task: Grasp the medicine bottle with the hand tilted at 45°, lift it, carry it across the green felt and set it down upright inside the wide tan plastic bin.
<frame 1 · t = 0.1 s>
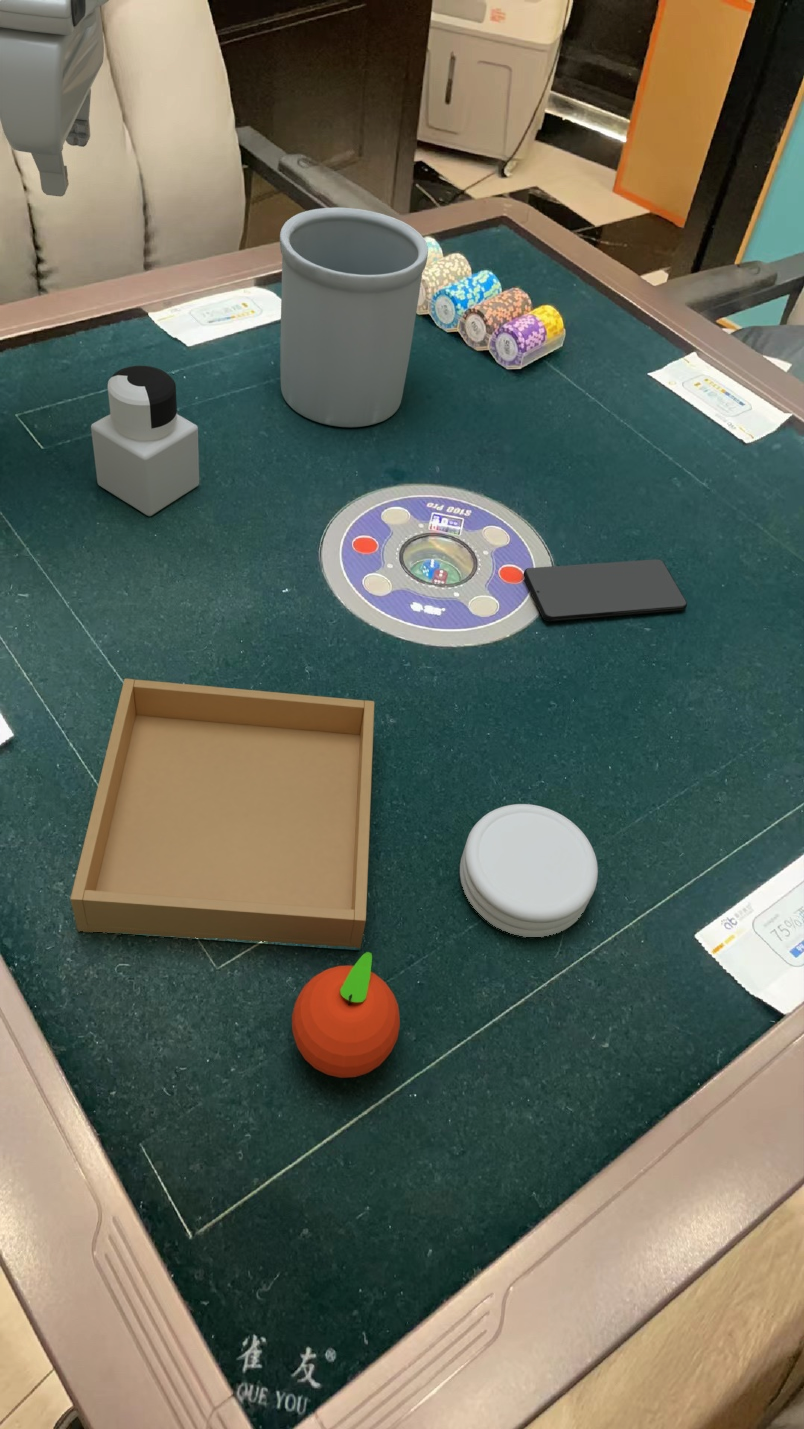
hand: (67, 166, 85), 28 cm above the table, tool pointing down, fingers open, 8 cm apart
medicine bottle: (149, 487, 104), on the table
white round disc: (522, 882, 80), on the table
utensil holder: (340, 393, 118), on the table
bin: (236, 825, 80), on the table
smartphone: (603, 594, 102), on the table
clementine: (343, 1036, 70), on the table
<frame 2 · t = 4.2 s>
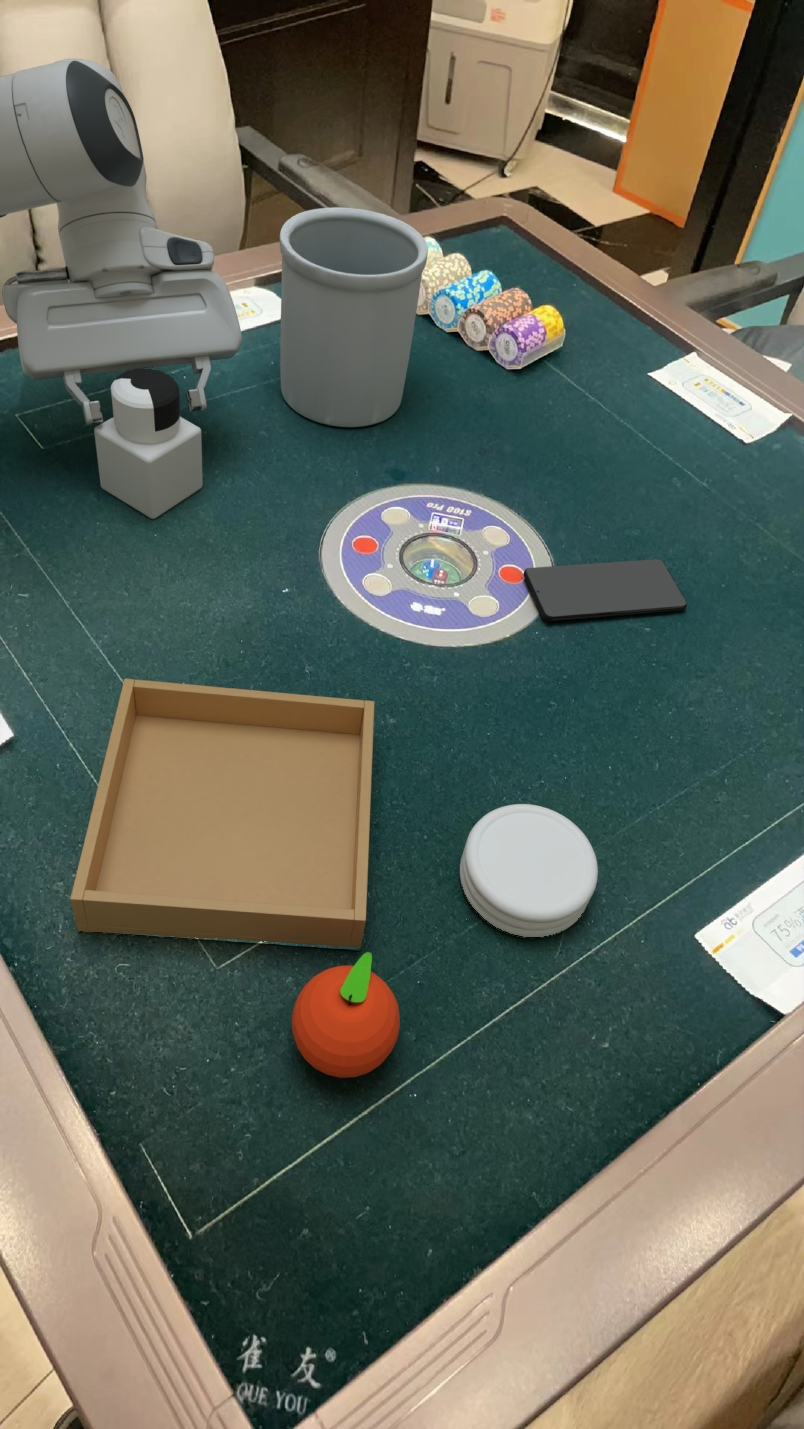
hand: (147, 416, 98), 8 cm above the table, tool tilted 45°, fingers open, 8 cm apart
medicine bottle: (152, 490, 104), on the table, touching gripper
everything else where it was.
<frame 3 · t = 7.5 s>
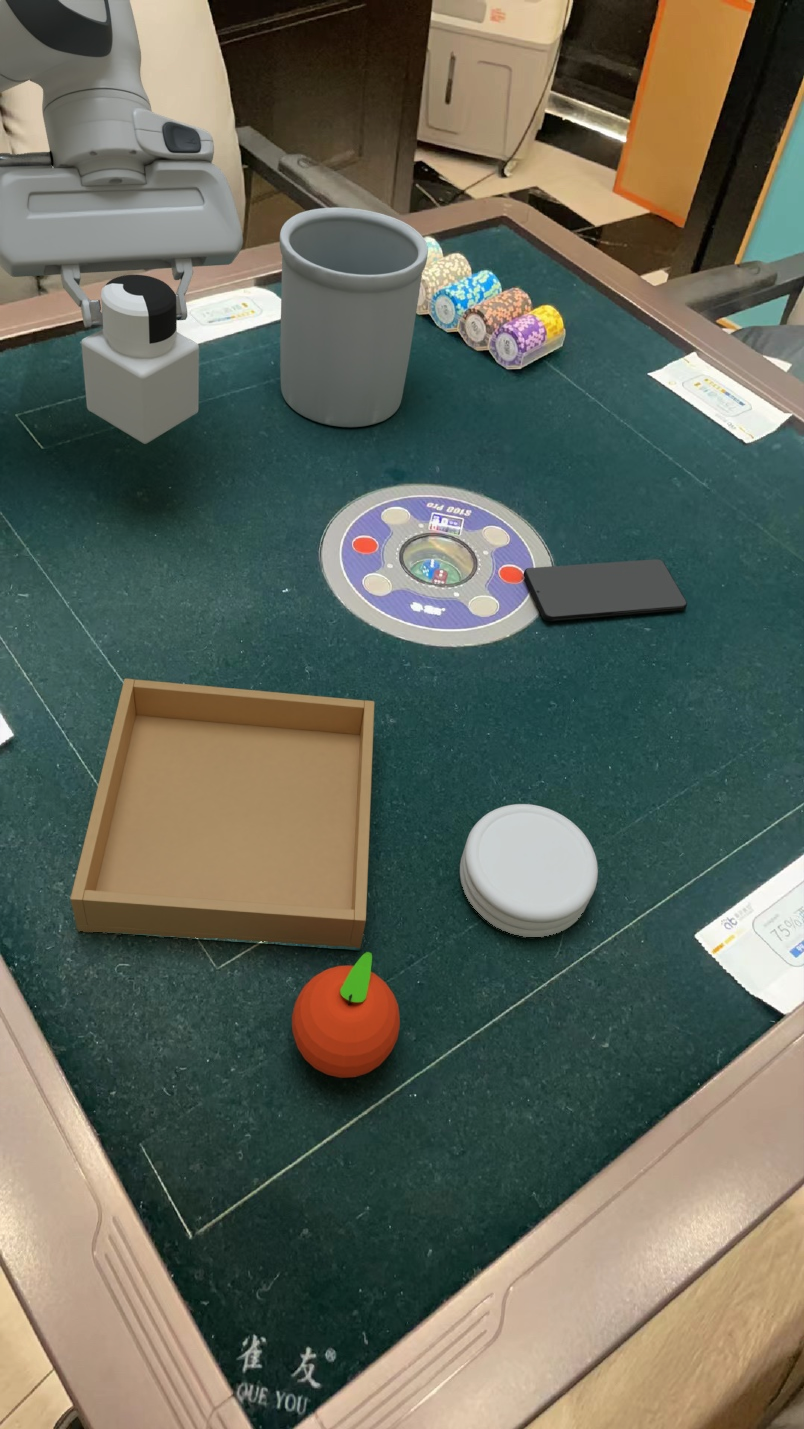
hand: (137, 322, 89), 18 cm above the table, tool tilted 45°, fingers closed on medicine bottle, 6 cm apart
medicine bottle: (143, 413, 95), point 10 cm above the table, touching gripper
everything else where it was.
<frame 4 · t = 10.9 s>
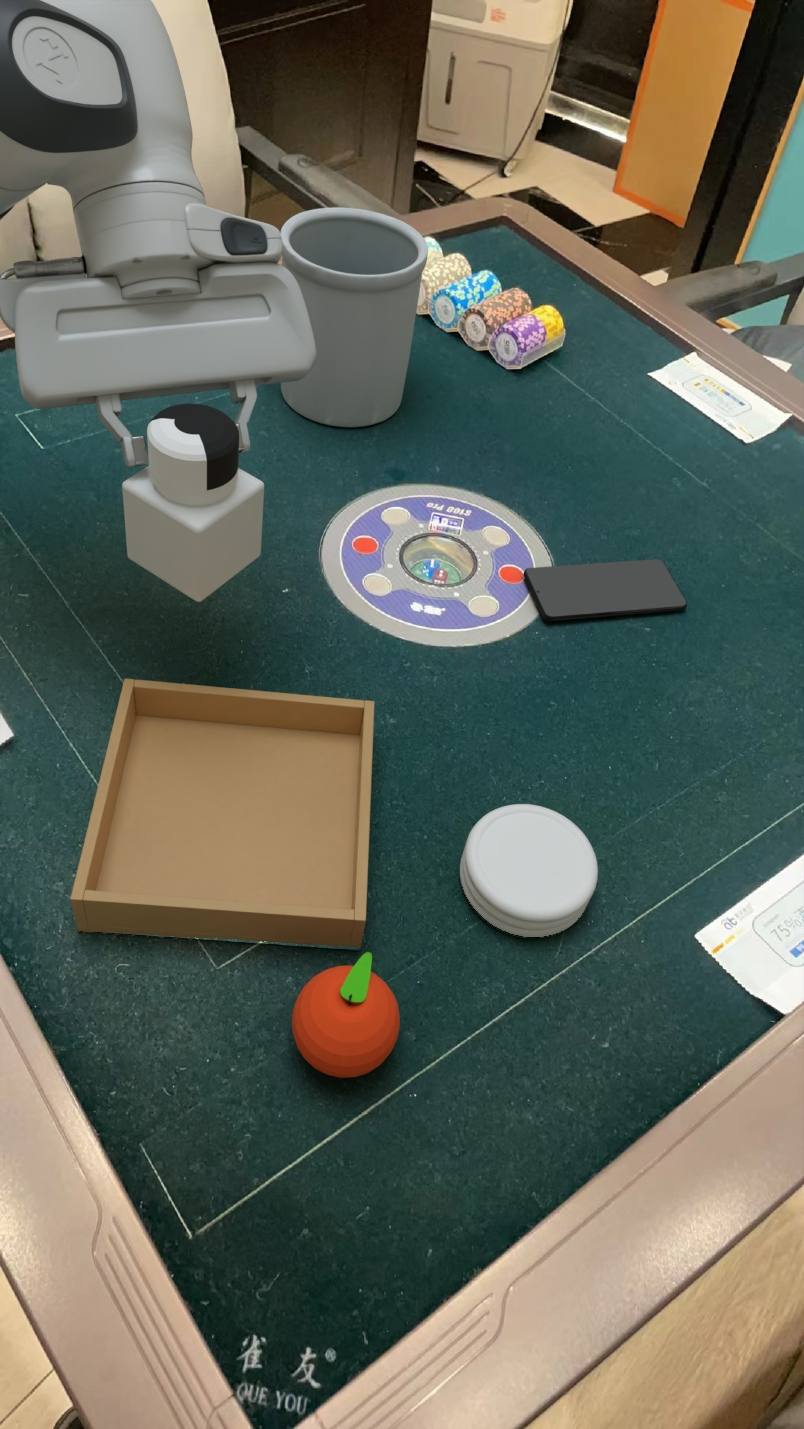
hand: (189, 458, 73), 21 cm above the table, tool tilted 45°, fingers closed on medicine bottle, 6 cm apart
medicine bottle: (194, 559, 79), point 13 cm above the table, touching gripper
everything else where it was.
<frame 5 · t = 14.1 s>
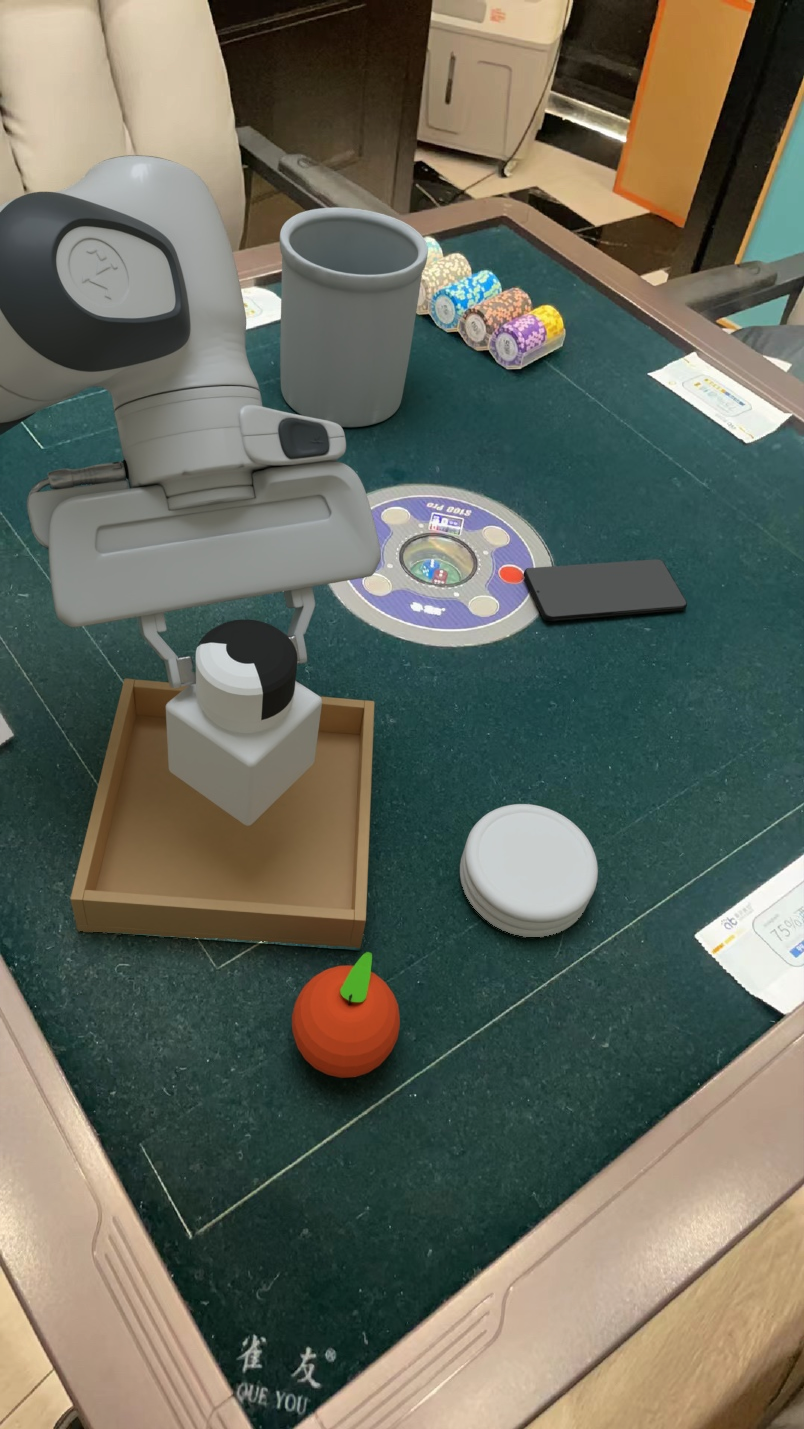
hand: (240, 674, 66), 18 cm above the table, tool tilted 45°, fingers closed on medicine bottle, 6 cm apart
medicine bottle: (242, 769, 71), point 9 cm above the table, touching gripper
everything else where it was.
when the fingers open (9 cm above the table, at t = 16.9 s): medicine bottle stays where it is, resting on bin.
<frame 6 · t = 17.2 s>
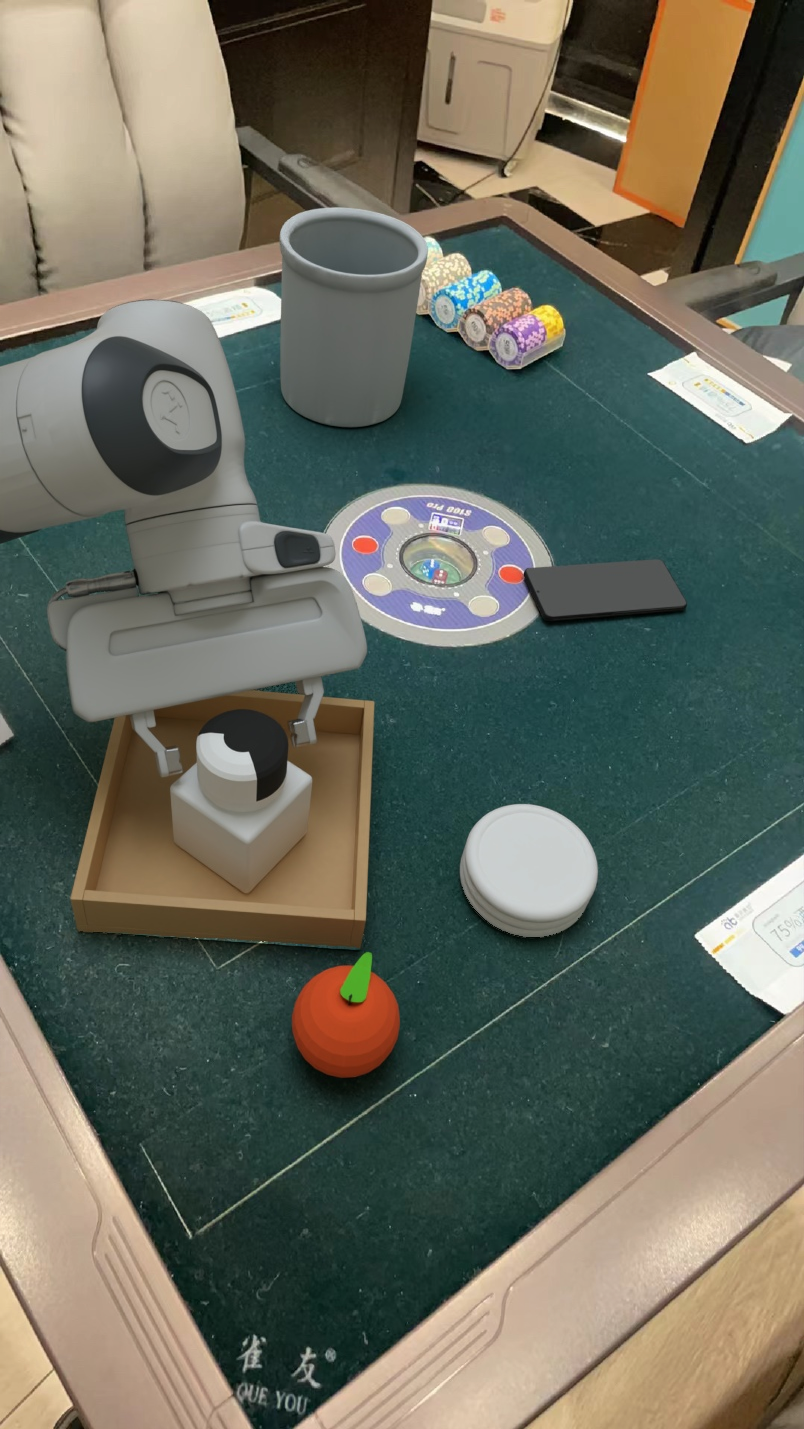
hand: (239, 759, 72), 9 cm above the table, tool tilted 45°, fingers open, 8 cm apart
medicine bottle: (241, 839, 78), point 1 cm above the table, touching bin
everything else where it was.
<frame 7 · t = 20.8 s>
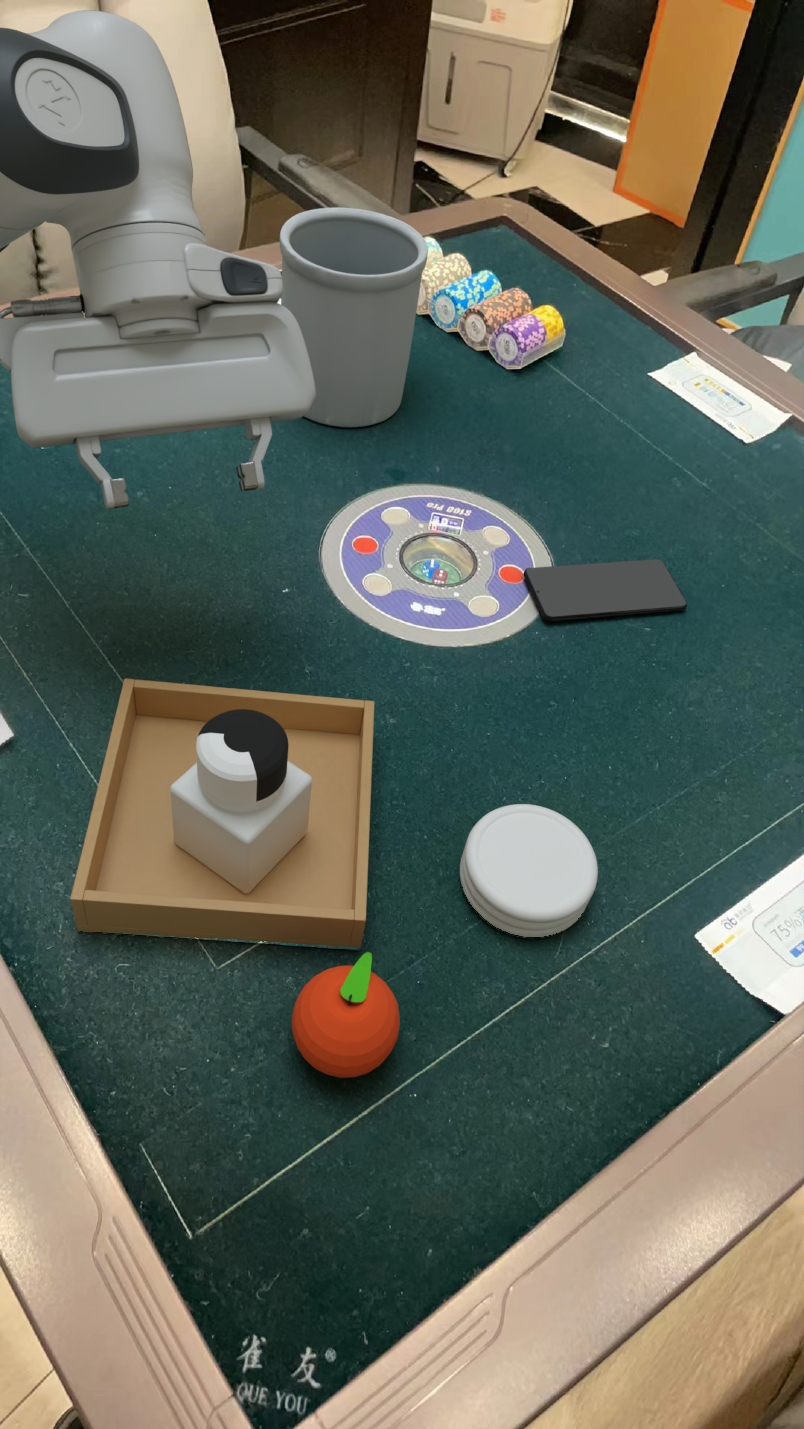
hand: (186, 498, 72), 20 cm above the table, tool tilted 45°, fingers open, 8 cm apart
nothing on the table moved.
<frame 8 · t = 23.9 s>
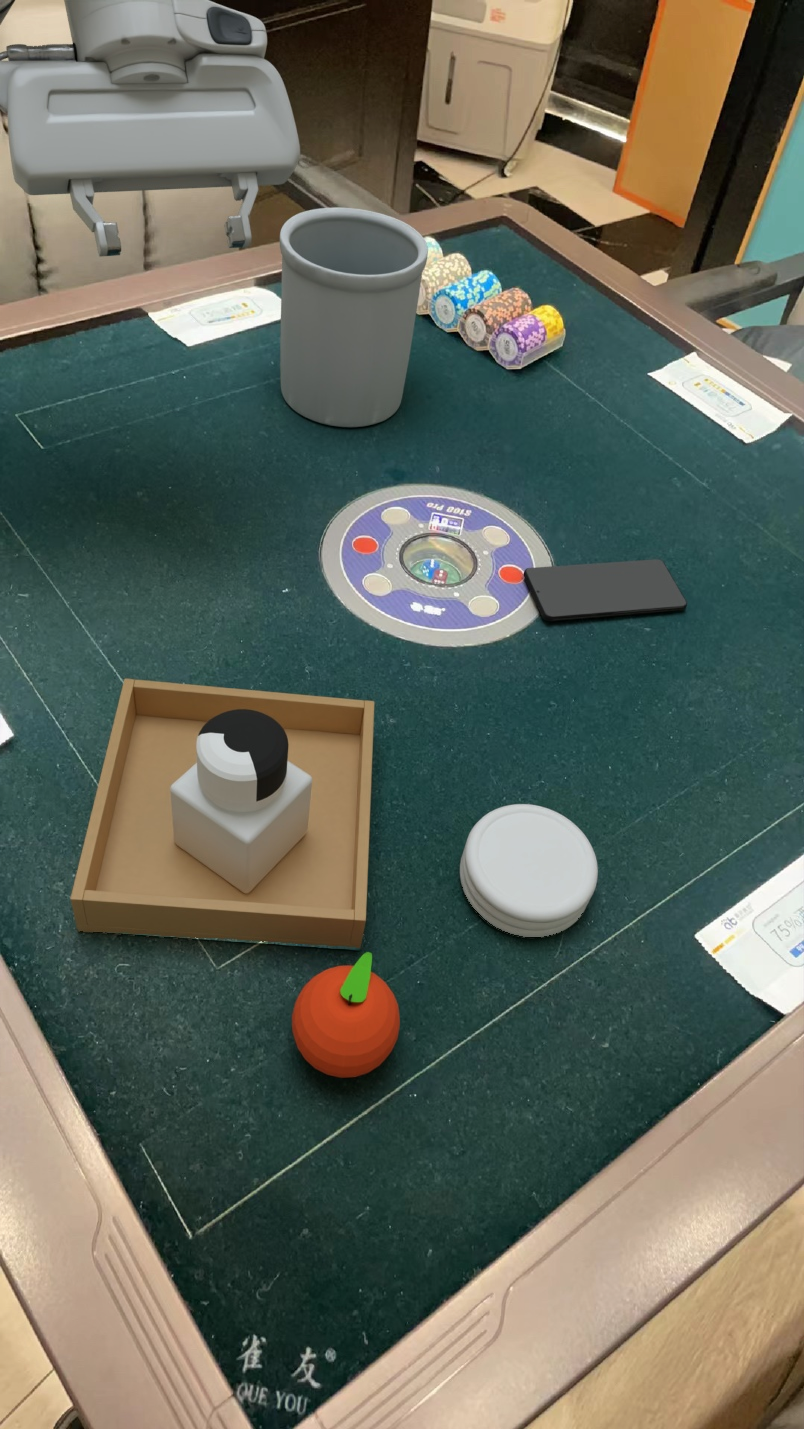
hand: (176, 249, 76), 29 cm above the table, tool tilted 45°, fingers open, 8 cm apart
nothing on the table moved.
at the end: medicine bottle inside the target area in the bin (1.8 cm from its centre), point 0.8 cm above the bin's base; medicine bottle tilted 0°; the gripper is holding nothing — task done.
